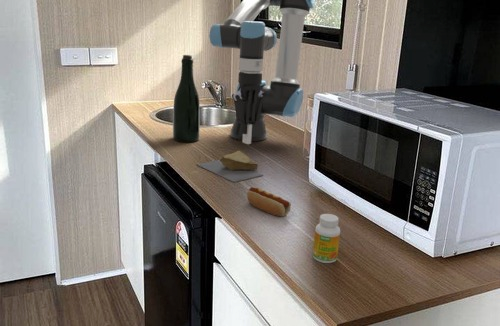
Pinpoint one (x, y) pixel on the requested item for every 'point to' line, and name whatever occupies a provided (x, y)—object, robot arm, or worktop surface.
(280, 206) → the food
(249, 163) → the yellow wedge
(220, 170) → the mat
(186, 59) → the dark green wine bottle
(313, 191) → the worktop surface
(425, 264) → the worktop surface
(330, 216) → the supplement bottle
